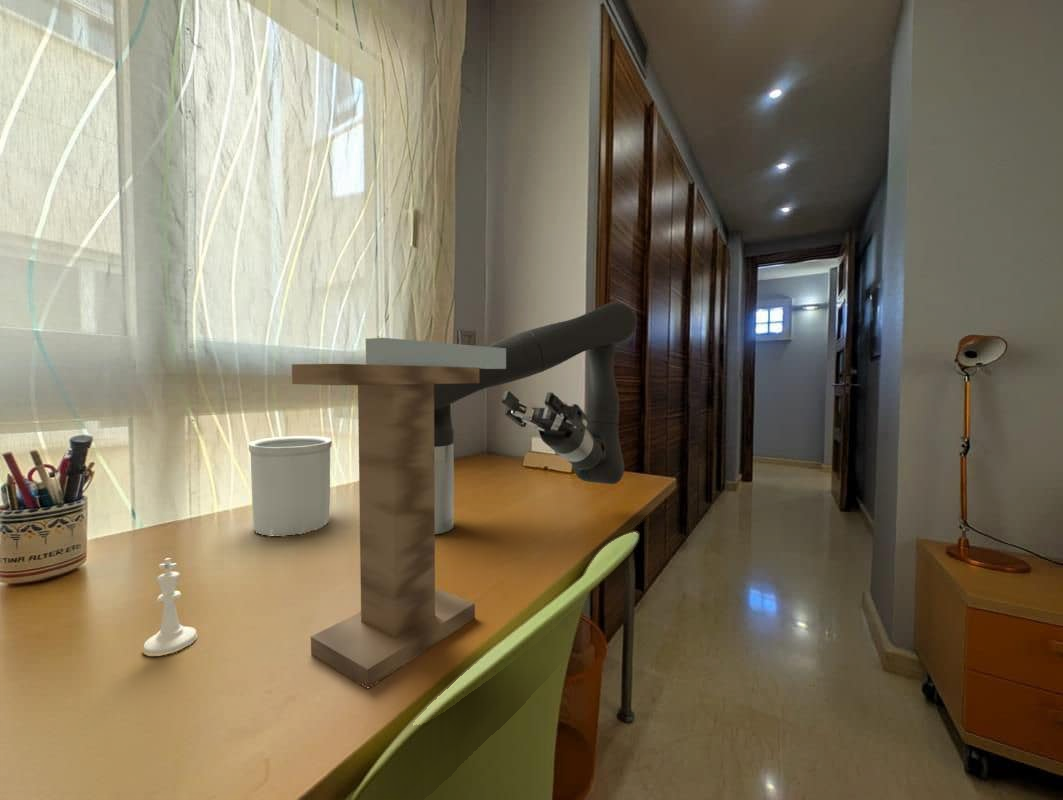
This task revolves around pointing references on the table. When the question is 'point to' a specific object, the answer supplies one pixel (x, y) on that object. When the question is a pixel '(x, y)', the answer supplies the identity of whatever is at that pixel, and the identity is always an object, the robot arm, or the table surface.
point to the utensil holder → (290, 484)
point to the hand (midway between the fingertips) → (525, 396)
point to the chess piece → (169, 616)
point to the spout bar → (432, 354)
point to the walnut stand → (392, 521)
